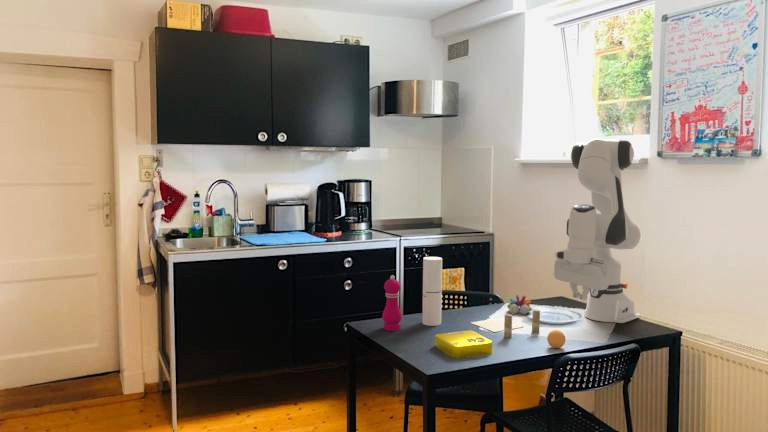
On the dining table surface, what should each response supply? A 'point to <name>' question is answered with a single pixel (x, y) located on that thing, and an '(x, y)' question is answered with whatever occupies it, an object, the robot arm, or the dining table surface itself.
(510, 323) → the left post
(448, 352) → the element tile
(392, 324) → the pepper mill
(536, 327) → the right post
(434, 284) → the cylindrical container
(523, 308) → the multicoloured rounded cluster
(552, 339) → the ball
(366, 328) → the dining table surface
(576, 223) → the robot arm
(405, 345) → the dining table surface
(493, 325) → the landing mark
